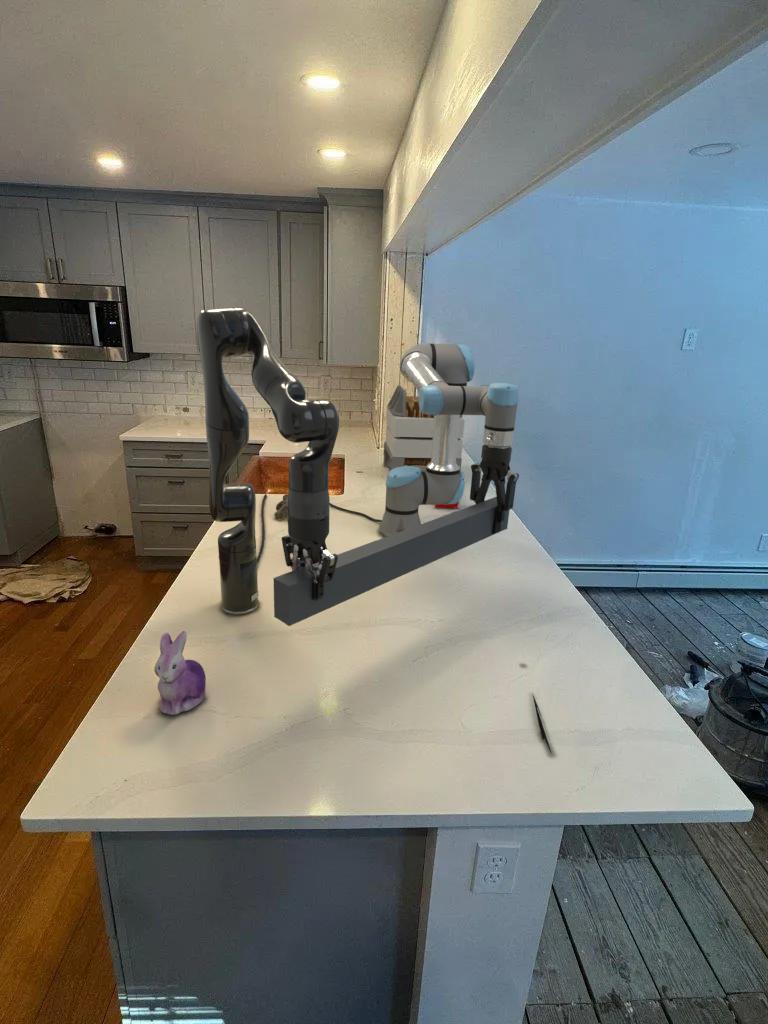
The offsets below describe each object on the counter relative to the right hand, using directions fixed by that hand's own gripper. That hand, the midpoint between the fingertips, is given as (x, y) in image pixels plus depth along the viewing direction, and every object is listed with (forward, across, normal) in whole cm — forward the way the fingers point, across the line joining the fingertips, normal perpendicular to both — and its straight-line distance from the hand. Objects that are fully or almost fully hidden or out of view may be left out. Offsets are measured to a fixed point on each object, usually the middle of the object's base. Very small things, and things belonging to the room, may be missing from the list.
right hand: (487, 529), depth 153 cm
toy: (+20, -62, +60) cm, 88 cm away
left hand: (-3, +1, -62) cm, 62 cm away
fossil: (+20, -87, 0) cm, 89 cm away
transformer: (+20, -93, +81) cm, 125 cm away
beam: (+1, 0, -31) cm, 31 cm away
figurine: (+19, -13, -82) cm, 86 cm away
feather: (+20, +36, -32) cm, 52 cm away
